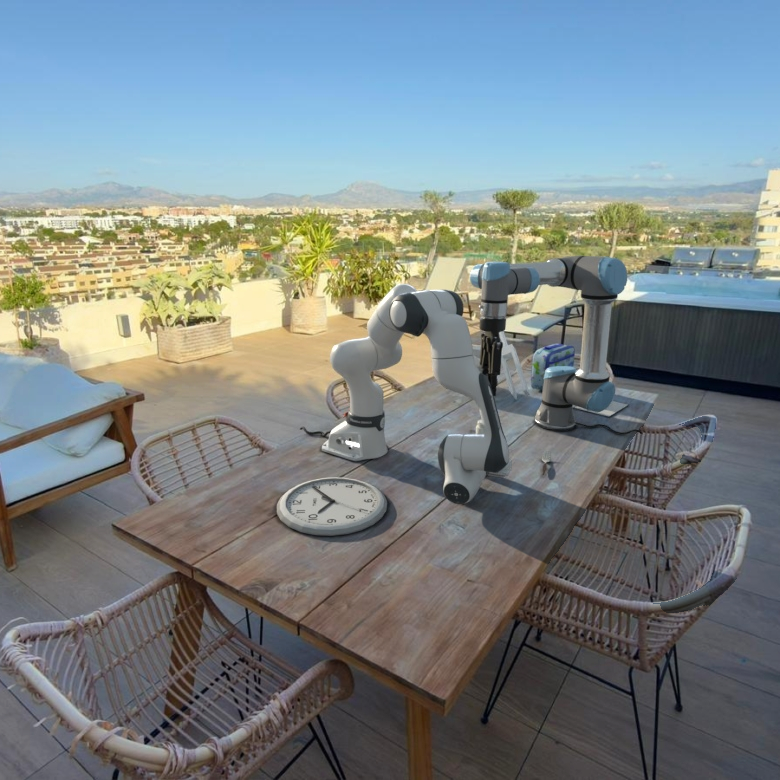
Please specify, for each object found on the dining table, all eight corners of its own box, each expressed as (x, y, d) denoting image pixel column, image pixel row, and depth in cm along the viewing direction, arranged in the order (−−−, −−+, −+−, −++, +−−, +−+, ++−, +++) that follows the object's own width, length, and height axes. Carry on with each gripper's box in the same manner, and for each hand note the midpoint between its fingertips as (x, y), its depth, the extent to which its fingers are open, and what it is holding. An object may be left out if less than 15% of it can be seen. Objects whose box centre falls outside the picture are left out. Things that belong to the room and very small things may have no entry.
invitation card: (608, 416, 214) (573, 407, 224) (608, 416, 214) (573, 408, 224) (628, 404, 229) (594, 396, 238) (628, 405, 229) (594, 397, 238)
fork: (538, 475, 162) (539, 470, 161) (542, 455, 176) (543, 450, 175) (547, 477, 161) (547, 471, 160) (550, 457, 175) (551, 451, 174)
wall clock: (392, 527, 129) (268, 531, 127) (391, 533, 130) (269, 537, 127) (383, 473, 158) (282, 475, 155) (383, 478, 158) (282, 480, 156)
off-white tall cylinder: (481, 477, 161) (485, 425, 156) (469, 471, 164) (473, 421, 159) (490, 472, 163) (494, 421, 158) (479, 467, 167) (483, 417, 162)
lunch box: (547, 395, 239) (552, 351, 233) (526, 390, 247) (530, 347, 240) (574, 384, 257) (579, 343, 251) (554, 380, 264) (558, 339, 258)
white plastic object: (461, 429, 252) (437, 405, 227) (444, 352, 274) (420, 323, 250) (535, 404, 240) (518, 377, 215) (510, 326, 262) (492, 293, 237)
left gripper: (508, 466, 146) (516, 448, 158) (438, 453, 153) (451, 437, 165) (506, 486, 147) (515, 467, 160) (437, 473, 155) (450, 455, 167)
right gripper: (472, 311, 160) (468, 384, 167) (489, 322, 143) (484, 403, 150) (495, 311, 161) (490, 383, 168) (516, 322, 143) (509, 402, 150)
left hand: (482, 451), depth 163 cm, fingers closed on off-white tall cylinder, 4 cm apart
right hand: (487, 392), depth 159 cm, fingers closed on lid, 5 cm apart
